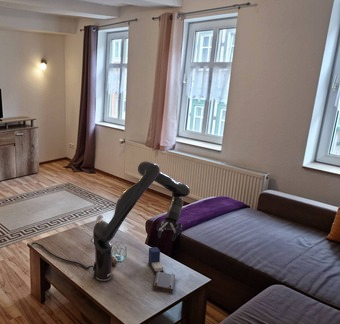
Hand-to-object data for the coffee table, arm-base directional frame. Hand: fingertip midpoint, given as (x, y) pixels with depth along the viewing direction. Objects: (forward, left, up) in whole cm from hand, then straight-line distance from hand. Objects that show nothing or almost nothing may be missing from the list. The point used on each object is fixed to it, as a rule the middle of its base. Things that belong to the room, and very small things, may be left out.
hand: (165, 238), depth 188 cm
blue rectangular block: (-5, 0, -21) cm, 21 cm away
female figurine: (-44, +19, -21) cm, 52 cm away
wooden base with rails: (+2, -13, -21) cm, 25 cm away
